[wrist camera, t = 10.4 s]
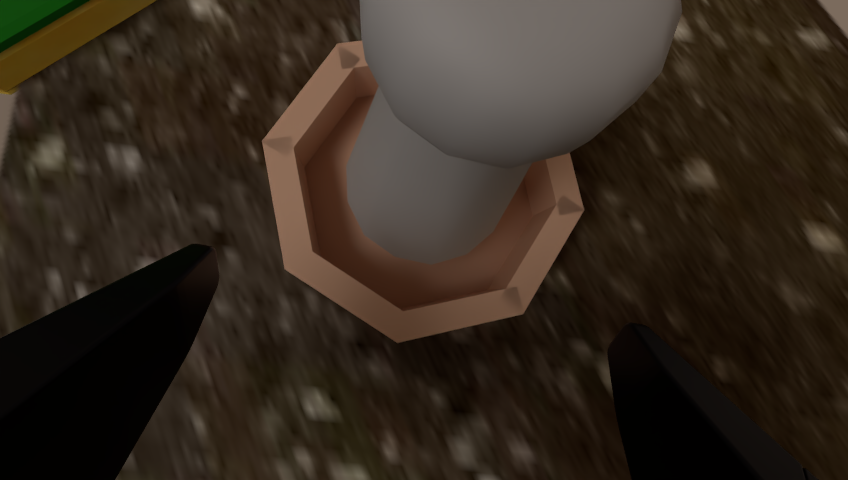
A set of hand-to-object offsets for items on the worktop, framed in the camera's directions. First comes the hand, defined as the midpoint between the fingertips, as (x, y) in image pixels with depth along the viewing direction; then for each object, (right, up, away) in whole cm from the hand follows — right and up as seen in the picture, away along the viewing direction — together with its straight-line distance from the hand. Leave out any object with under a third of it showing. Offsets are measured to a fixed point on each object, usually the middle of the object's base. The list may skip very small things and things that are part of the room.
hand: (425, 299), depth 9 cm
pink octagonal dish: (0, +3, +9) cm, 10 cm away
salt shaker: (0, +3, +9) cm, 9 cm away
